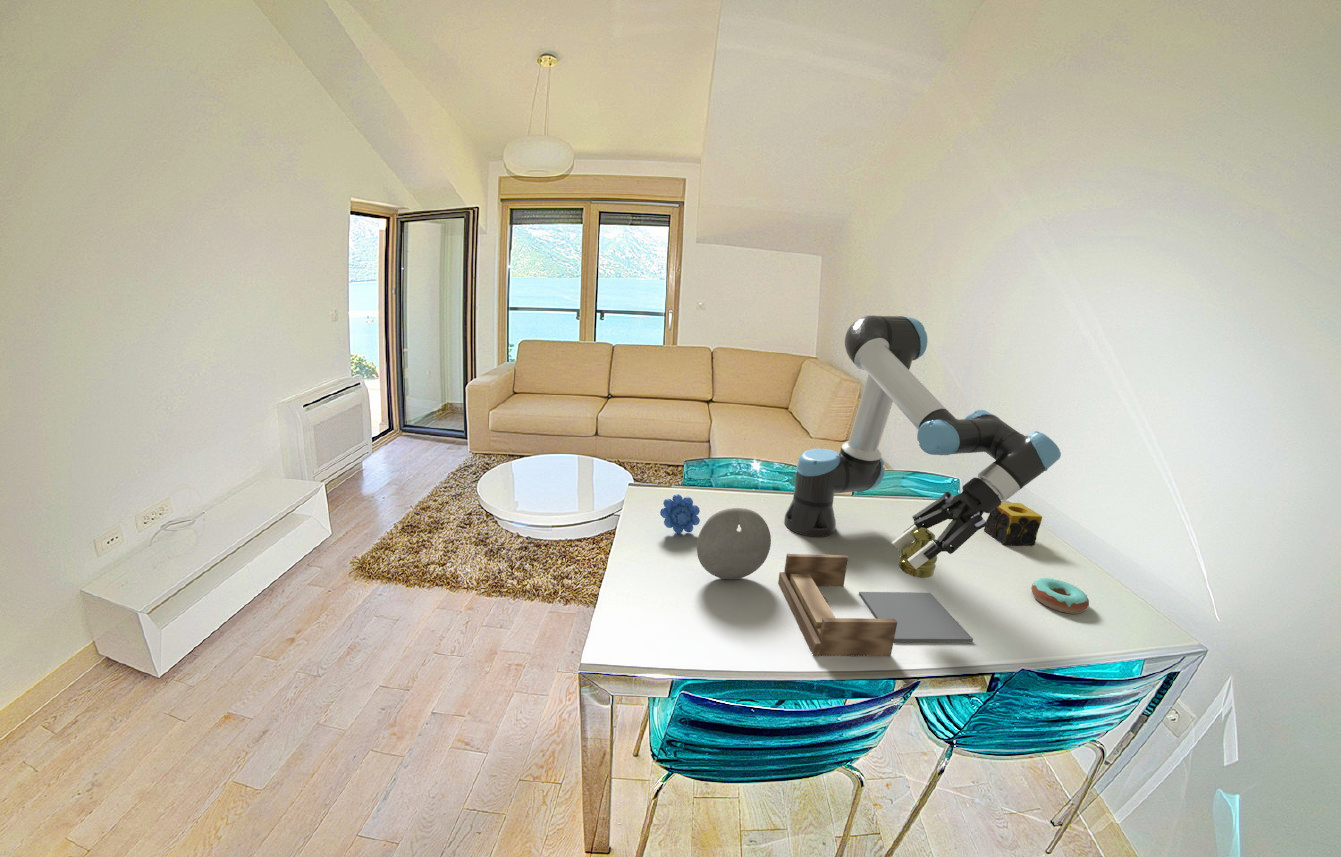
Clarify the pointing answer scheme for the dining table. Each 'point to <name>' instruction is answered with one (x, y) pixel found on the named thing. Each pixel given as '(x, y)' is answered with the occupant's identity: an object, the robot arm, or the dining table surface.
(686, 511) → the blue flower
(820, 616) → the offcut rack
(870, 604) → the charcoal mat
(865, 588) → the dining table surface
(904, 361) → the robot arm
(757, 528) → the grey thick disc
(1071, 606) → the donut
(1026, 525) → the yellow brown cube
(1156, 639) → the dining table surface
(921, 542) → the gold rounded piece
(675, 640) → the dining table surface
